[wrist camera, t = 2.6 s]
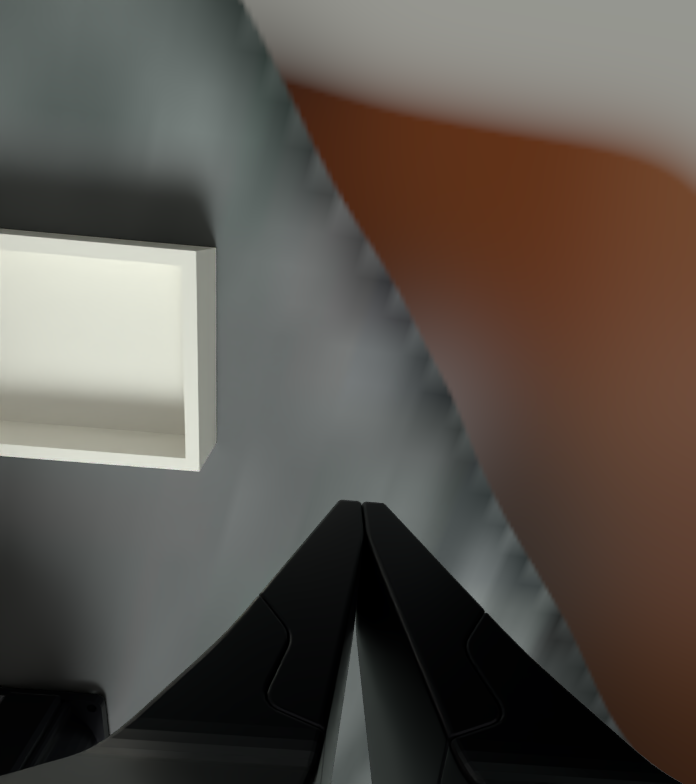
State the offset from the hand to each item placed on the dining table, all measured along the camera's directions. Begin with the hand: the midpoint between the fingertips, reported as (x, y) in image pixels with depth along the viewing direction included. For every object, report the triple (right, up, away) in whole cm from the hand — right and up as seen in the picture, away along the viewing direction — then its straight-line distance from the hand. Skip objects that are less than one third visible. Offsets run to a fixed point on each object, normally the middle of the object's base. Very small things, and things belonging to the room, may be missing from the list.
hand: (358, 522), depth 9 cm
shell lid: (-13, +5, +10) cm, 17 cm away
